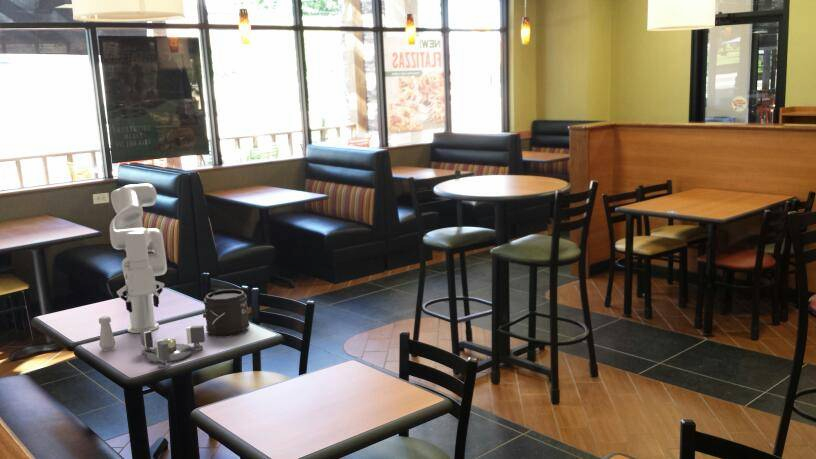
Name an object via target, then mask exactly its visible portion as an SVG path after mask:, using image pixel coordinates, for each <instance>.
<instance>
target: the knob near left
mask: <svg viewBox="0 0 816 459" xmlns="http://www.w3.org/2000/svg"><path fill="white" fill-rule="evenodd" d="M204 326H205V325H204V324H203V325H192V326H191V325H190V326H189V325H188V326H187V327H186V328H185V330H186V338H187V345H189V344H193V346H194V347H199V345H200V343H201V344H202V343H205V341H206V340H205V339H206V338H205V328H204Z"/></svg>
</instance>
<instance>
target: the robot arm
mask: <svg viewBox="0 0 816 459" xmlns="http://www.w3.org/2000/svg"><path fill="white" fill-rule="evenodd" d="M157 196H158V194H157V190H156V188H155V186H154V185H153V184H151V183H138V184H134V183H133V184H126V185H124V186H122V187H120V188H117V189H113V190H112V192H110V201H111V205H112V208H113V209H114V211H115V213H116V215H115V216H114V217H113V218H112V219H111V222H110V224H109V238H110V243H111V246H112V248H113V249H115V250H119V251H120V250H124V251H125V253H126V257H125V258H123V260H122V262H121V268H122V272H123V277H124V280H125V285H124V286H123V287H121V288H120V289H118V290H117V291H116V294H117V295H118V296H119V298H120V299H122V300H123V301H124V302H125V308H126V311H128V313H129V319H130V325H129V326H128V327H127V332H128V333H132V334H140V329H144V328H147V329H148V330H150V331H151V332H152V331H155V330H157V329H159V327H160V324H159V323H158V322H157V321H155V312H154V307H155V308H159V305H160V295H161V293H162V292H163V291H164V290H163V289H164V287H165V283H164V282H162V281H158V280H156V277H158V276H163V275H165V274H166V273H167V270H168V265H167V257H166V256H167V255H166V250H165V241H164V237H163V233H162V231H161V230H160V229H159V228H156V227H152V228H146V227H144V226H143V219H142V218H143V216H144V211H143V209H144V208H143V207H151V206H154V205H155V204H156V203H157V198H158V197H157ZM149 252H153V253H149ZM157 286H158V288H157ZM125 291H126V295H124V294H123V293H124V292H125Z"/></svg>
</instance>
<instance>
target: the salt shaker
mask: <svg viewBox="0 0 816 459" xmlns="http://www.w3.org/2000/svg"><path fill="white" fill-rule="evenodd" d="M111 322H112V319H111V317H110V316H106V315H104V316H101V317H99V318H98V324H99V325H100V333H99V334H100V335H99V343H98V344H99V347H100V349H102V351H103V352H109V351H112V349H113V348H114V349H115V346H116V339H115V336H114V333H113V330H112V327H111ZM114 349H113V350H114Z"/></svg>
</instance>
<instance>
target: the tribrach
mask: <svg viewBox="0 0 816 459" xmlns="http://www.w3.org/2000/svg"><path fill="white" fill-rule="evenodd" d="M163 340H164V341H165V342H167V343H168V348H169V358H170V360H167V363H164V364H162V363H161V359H160V358H158V357H157V348H156V347H153V348H150V350H149V351H145V349H144V350H142V351H141V355H142V356H146V357H147V358H146V359H147V360H146V361H147V362H149V363H152V364H157V368H159V369H166V368H167V369H168V368H170V367H172V363H179V362H181V361H184V360H186V359H188V358H190V357H191V356H192V355H193V353H194V352H201V351H202V350H203V349H204V346H203V345H202V344H199V347H194V345H192V346H191V345H189V344H185V343H177V342H176V341H177V340H176V339H175V338H171V337H170V338H165V339H163ZM203 351H204V350H203Z"/></svg>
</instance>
